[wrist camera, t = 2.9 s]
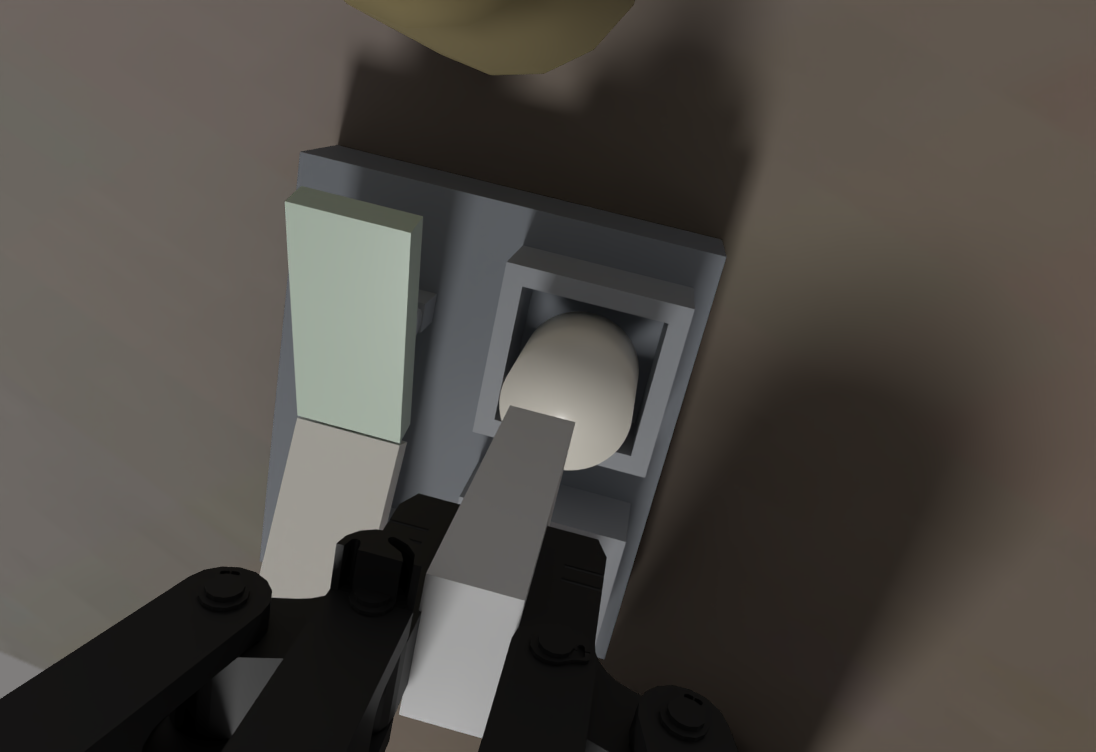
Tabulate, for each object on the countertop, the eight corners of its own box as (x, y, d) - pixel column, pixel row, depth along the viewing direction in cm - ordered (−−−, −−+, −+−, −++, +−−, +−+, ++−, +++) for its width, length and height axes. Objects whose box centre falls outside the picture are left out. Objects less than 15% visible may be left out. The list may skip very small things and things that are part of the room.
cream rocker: (413, 439, 29) (399, 445, 27) (360, 653, 29) (343, 673, 27) (317, 413, 29) (297, 417, 27) (265, 625, 29) (243, 644, 28)
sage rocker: (432, 203, 23) (411, 232, 22) (418, 408, 28) (399, 443, 27) (313, 174, 23) (284, 201, 22) (320, 383, 28) (297, 415, 27)
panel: (721, 239, 28) (731, 275, 23) (610, 611, 34) (597, 708, 28) (337, 144, 29) (260, 158, 24) (293, 522, 35) (225, 600, 29)
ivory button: (652, 328, 24) (647, 365, 21) (622, 434, 25) (614, 484, 22) (535, 298, 24) (513, 330, 21) (512, 405, 26) (488, 450, 22)
